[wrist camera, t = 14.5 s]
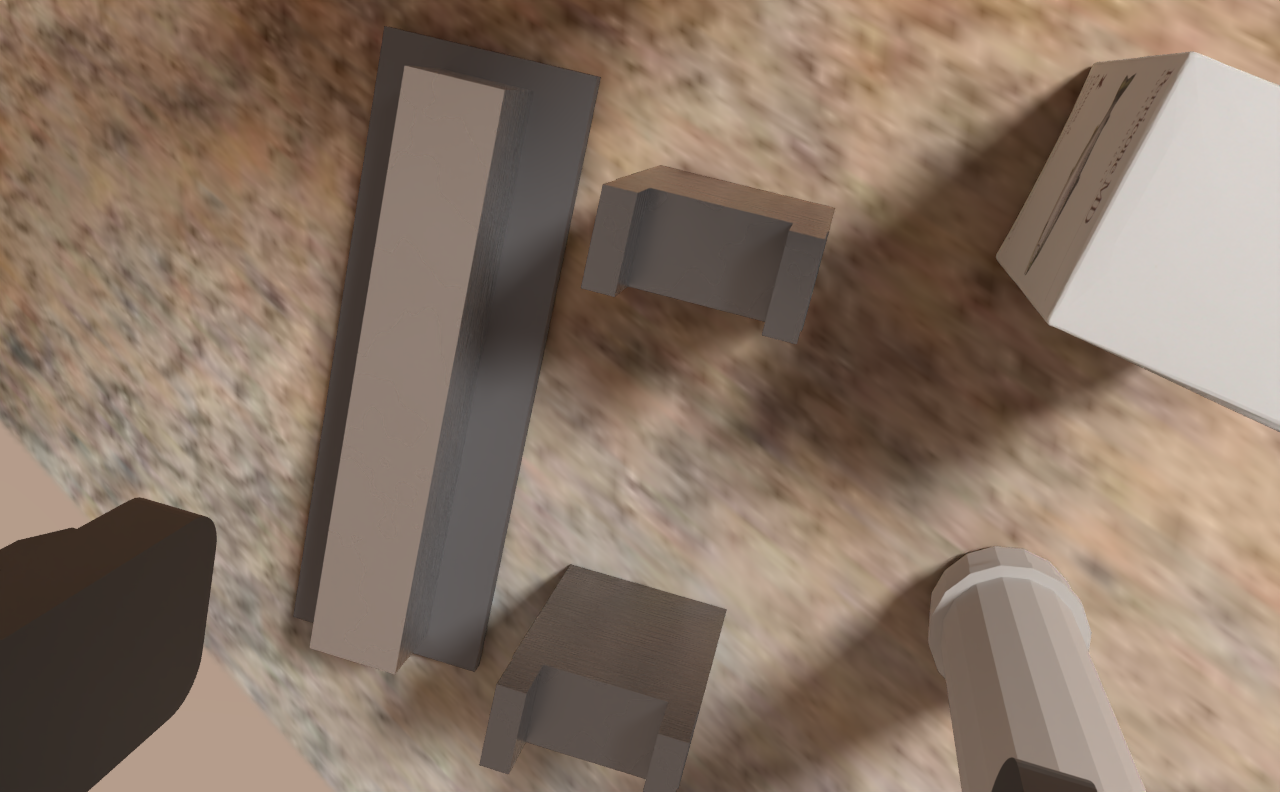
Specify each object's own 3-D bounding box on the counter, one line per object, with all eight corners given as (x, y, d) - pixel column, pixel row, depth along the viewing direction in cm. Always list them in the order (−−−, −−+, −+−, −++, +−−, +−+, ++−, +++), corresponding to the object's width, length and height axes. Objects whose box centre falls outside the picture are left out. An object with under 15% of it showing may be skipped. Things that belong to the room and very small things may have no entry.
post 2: (570, 564, 46) (495, 683, 37) (726, 609, 46) (690, 743, 36) (555, 630, 47) (477, 764, 38) (708, 676, 46) (668, 824, 37)
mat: (391, 27, 43) (384, 26, 42) (600, 77, 42) (596, 76, 41) (300, 610, 49) (293, 616, 49) (479, 664, 48) (474, 671, 48)
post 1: (660, 165, 42) (601, 183, 32) (834, 207, 41) (826, 239, 32) (642, 246, 43) (579, 287, 33) (813, 289, 42) (798, 344, 32)
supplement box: (1091, 55, 39) (1196, 34, 26) (1303, 147, 38) (1507, 168, 26) (985, 258, 41) (1037, 324, 29) (1184, 348, 40) (1321, 453, 28)
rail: (441, 68, 42) (404, 65, 39) (533, 90, 42) (504, 90, 38) (347, 610, 48) (309, 648, 45) (427, 634, 48) (394, 674, 44)
